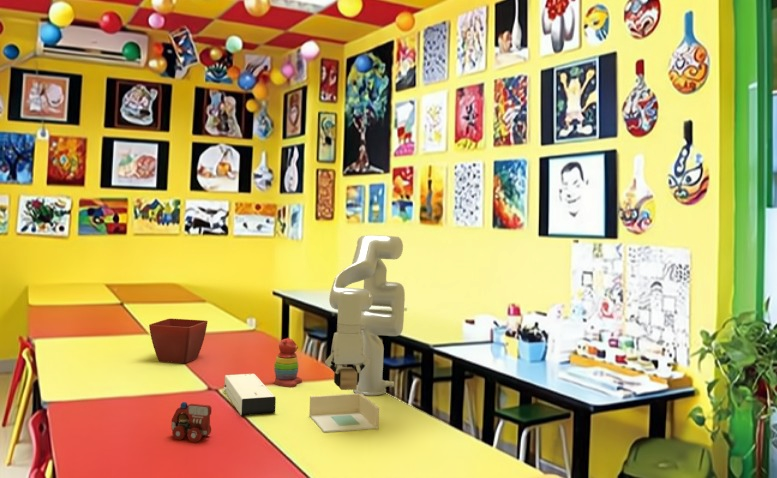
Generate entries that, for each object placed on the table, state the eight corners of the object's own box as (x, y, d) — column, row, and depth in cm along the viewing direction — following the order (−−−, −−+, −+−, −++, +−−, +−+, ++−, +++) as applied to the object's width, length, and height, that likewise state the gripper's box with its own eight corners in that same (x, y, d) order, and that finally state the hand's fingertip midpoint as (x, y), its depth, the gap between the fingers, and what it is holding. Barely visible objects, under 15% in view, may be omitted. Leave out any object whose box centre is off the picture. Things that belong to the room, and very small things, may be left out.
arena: (360, 412, 231) (361, 393, 231) (378, 428, 215) (379, 407, 214) (309, 415, 225) (310, 396, 225) (323, 432, 208) (324, 411, 208)
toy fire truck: (179, 431, 204) (180, 397, 203) (216, 436, 200) (217, 402, 200) (165, 438, 197) (166, 403, 197) (203, 444, 194) (204, 408, 193)
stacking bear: (294, 387, 260) (295, 341, 260) (269, 385, 262) (271, 339, 262) (303, 381, 271) (305, 337, 270) (279, 379, 273) (281, 335, 272)
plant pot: (146, 362, 292) (147, 324, 291) (168, 354, 311) (169, 317, 310) (188, 366, 289) (189, 327, 288) (207, 357, 308) (208, 320, 307)
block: (356, 389, 216) (357, 372, 216) (341, 389, 214) (341, 372, 214) (351, 383, 223) (352, 367, 223) (336, 383, 222) (337, 367, 222)
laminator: (275, 415, 226) (275, 396, 225) (238, 418, 221) (238, 399, 221) (254, 389, 257) (254, 373, 257) (221, 391, 252) (221, 375, 252)
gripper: (369, 326, 225) (367, 381, 225) (320, 327, 219) (317, 383, 219) (377, 330, 218) (375, 386, 218) (326, 331, 212) (324, 389, 212)
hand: (346, 384), depth 219 cm, fingers closed on block, 5 cm apart
